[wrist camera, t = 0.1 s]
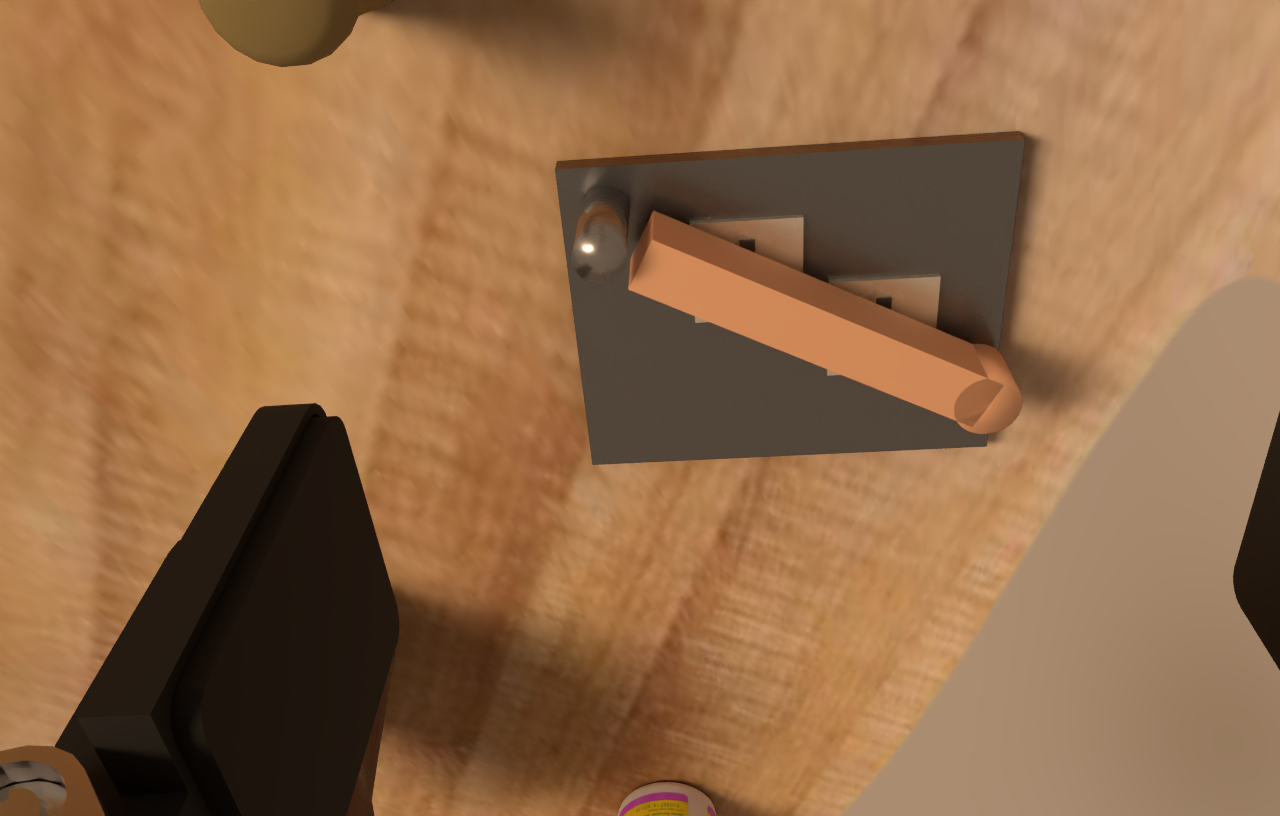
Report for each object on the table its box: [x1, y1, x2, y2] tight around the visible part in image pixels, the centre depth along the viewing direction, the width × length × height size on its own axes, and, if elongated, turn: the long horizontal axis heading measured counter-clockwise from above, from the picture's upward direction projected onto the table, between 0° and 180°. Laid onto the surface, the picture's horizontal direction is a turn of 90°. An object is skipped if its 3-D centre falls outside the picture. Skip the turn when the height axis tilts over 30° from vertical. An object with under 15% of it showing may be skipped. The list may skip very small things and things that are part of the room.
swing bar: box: [628, 210, 1023, 434], centre depth 48 cm, size 18×3×3 cm, turn 66°
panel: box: [555, 131, 1025, 465], centre depth 49 cm, size 16×20×6 cm
